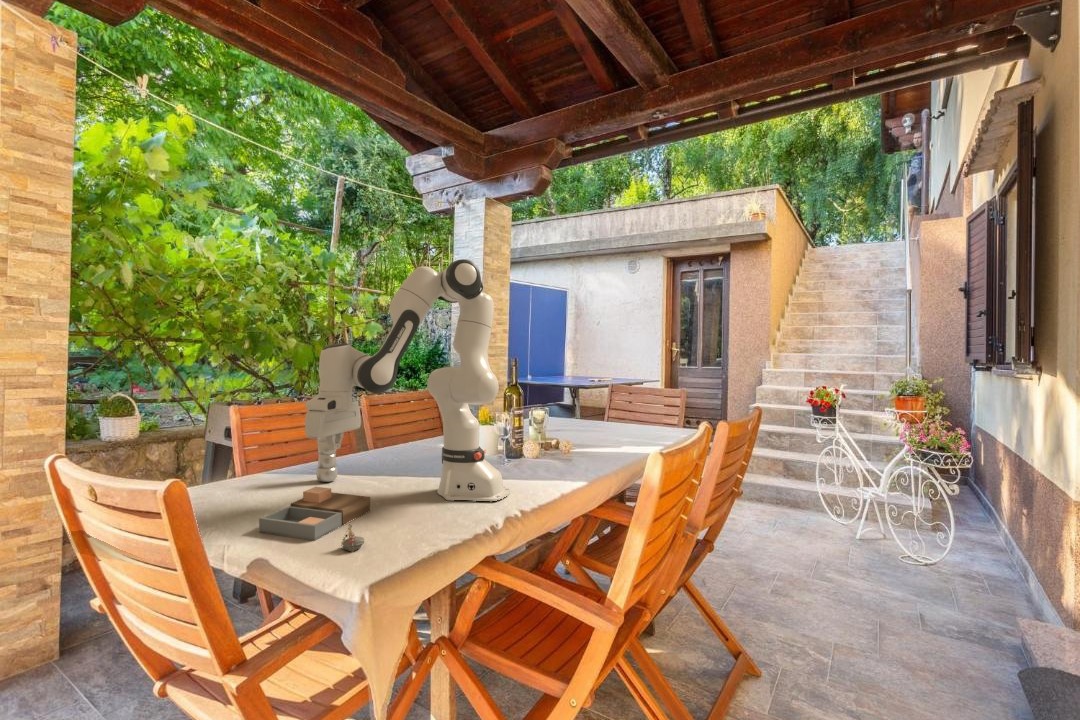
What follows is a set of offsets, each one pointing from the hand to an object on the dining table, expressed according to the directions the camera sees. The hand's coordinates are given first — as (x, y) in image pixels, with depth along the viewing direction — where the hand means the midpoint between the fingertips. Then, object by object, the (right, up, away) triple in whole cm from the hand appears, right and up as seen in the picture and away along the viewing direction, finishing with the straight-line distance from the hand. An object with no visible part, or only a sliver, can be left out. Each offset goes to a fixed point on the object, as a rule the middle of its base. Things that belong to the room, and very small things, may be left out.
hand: (334, 449), depth 150 cm
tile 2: (+2, -14, -21) cm, 25 cm away
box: (-1, -17, -18) cm, 25 cm away
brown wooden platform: (+2, -16, -7) cm, 18 cm away
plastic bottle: (-12, -15, +25) cm, 31 cm away
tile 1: (-2, -12, -7) cm, 14 cm away
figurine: (+15, -18, -29) cm, 38 cm away
